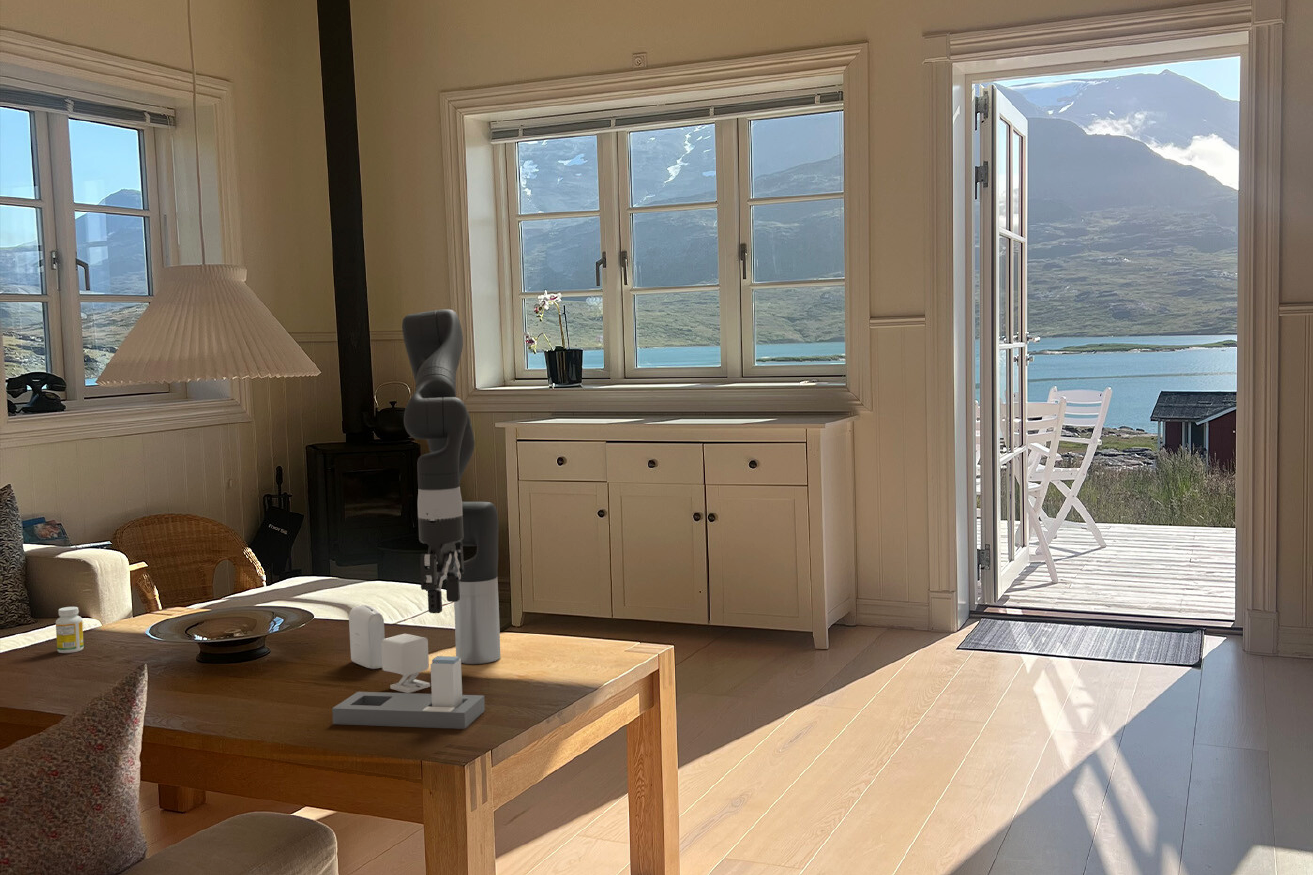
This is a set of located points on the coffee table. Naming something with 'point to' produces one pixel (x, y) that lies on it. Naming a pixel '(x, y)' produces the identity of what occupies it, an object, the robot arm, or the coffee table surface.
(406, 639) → the white cube on bracket
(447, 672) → the plug
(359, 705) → the socket panel
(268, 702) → the coffee table surface
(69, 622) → the supplement bottle
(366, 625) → the photo printer
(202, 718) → the coffee table surface
